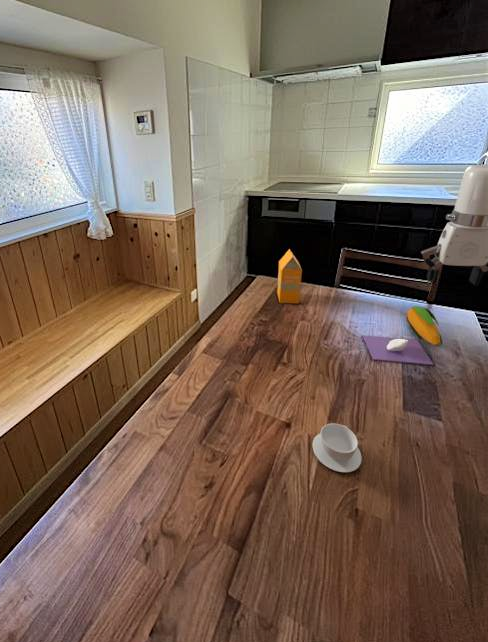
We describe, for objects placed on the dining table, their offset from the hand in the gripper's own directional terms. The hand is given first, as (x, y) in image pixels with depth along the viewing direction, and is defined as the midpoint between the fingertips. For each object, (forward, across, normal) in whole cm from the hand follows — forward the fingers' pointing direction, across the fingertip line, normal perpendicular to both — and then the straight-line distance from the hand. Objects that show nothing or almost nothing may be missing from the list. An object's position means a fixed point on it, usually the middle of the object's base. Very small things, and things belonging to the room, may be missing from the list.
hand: (452, 282), depth 88 cm
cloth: (+26, -7, +5) cm, 28 cm away
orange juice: (+26, -38, +35) cm, 58 cm away
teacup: (+26, -31, -35) cm, 54 cm away
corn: (+26, +4, +15) cm, 31 cm away
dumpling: (+26, -7, +5) cm, 27 cm away
